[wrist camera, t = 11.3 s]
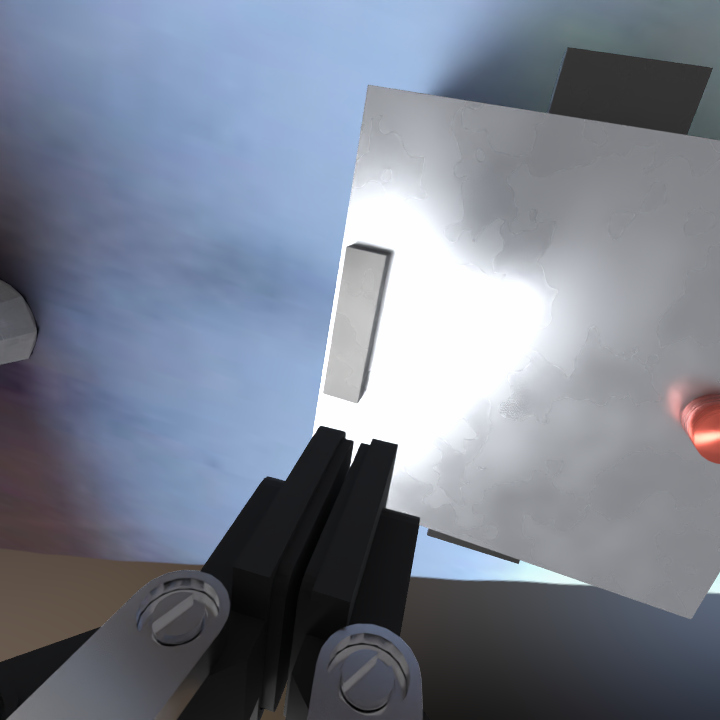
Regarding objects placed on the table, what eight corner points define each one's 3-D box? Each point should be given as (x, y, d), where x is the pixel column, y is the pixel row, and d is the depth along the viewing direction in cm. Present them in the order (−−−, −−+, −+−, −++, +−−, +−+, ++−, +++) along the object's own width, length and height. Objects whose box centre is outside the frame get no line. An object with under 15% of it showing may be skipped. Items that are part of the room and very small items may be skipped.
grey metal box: (422, 67, 33) (387, 14, 22) (784, 124, 29) (957, 93, 18) (353, 427, 44) (306, 511, 33) (611, 500, 40) (655, 622, 29)
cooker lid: (375, 89, 23) (354, 76, 20) (932, 178, 18) (1009, 177, 16) (312, 474, 32) (291, 504, 29) (684, 601, 27) (703, 652, 24)
